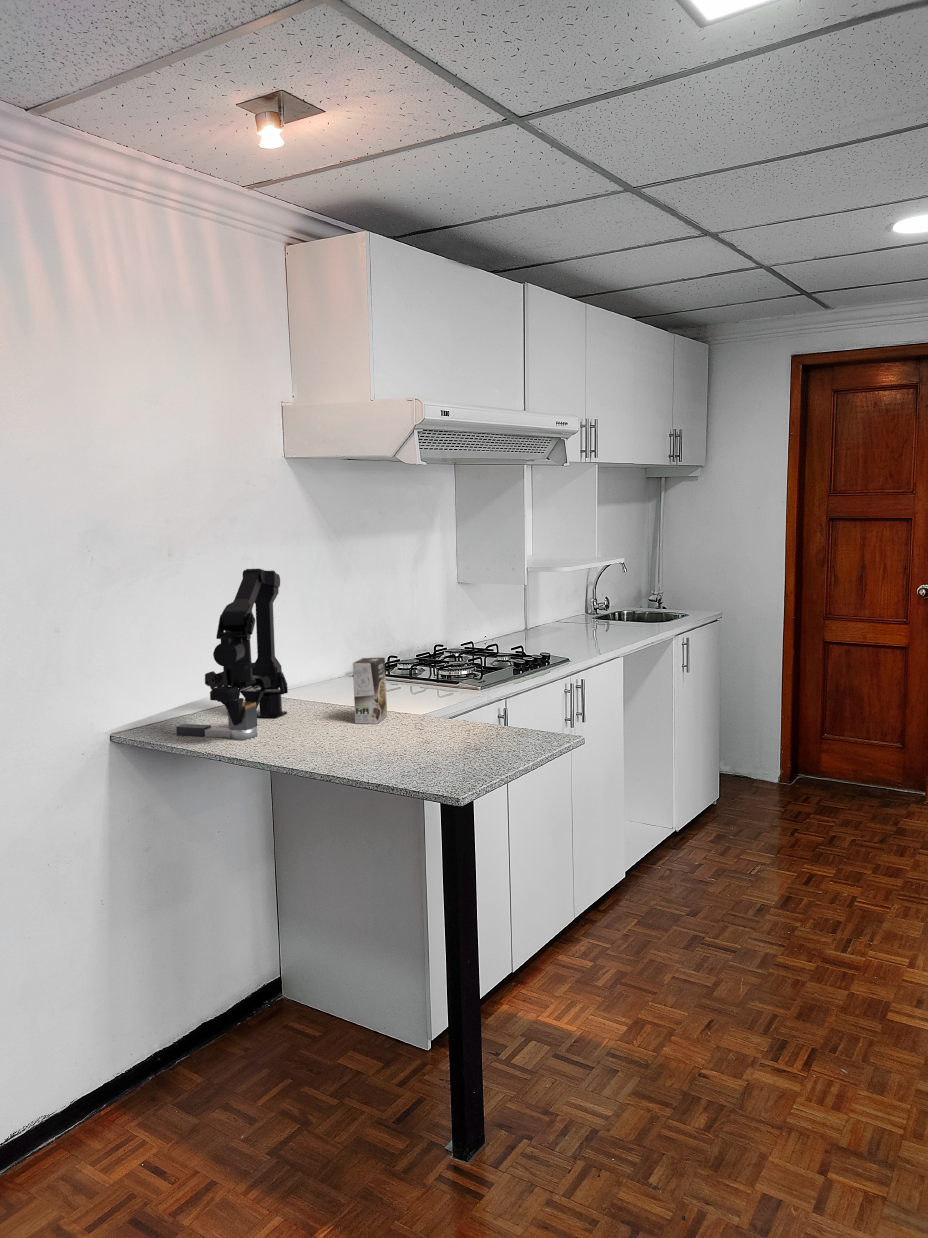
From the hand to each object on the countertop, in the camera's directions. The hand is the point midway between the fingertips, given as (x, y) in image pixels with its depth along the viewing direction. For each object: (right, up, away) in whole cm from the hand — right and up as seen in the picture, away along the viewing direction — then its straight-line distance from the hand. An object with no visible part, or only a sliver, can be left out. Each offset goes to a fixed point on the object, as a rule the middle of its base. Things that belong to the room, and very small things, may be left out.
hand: (243, 722), depth 229 cm
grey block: (0, -1, 0) cm, 1 cm away
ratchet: (-7, -4, +3) cm, 9 cm away
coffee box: (+30, -1, +15) cm, 34 cm away
